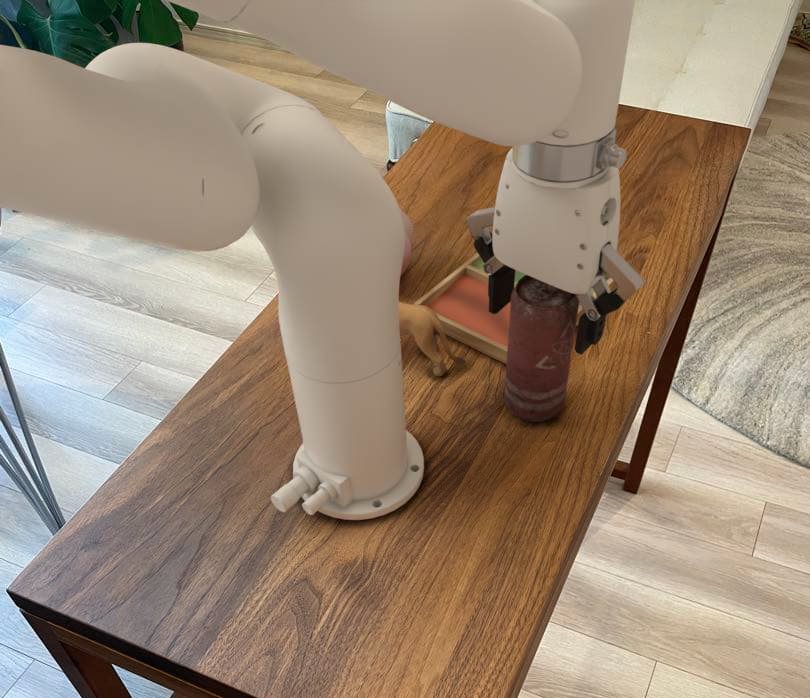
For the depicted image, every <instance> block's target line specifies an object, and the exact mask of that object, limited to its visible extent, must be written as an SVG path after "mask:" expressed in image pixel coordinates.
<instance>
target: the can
mask: <svg viewBox="0 0 810 698" xmlns="http://www.w3.org/2000/svg"><path fill="white" fill-rule="evenodd" d="M578 307H579V300H578V298H577V296H576V294H573V293H570V292H567V291H564V290H562V289H559V288H557V287H554V286H552V285H549V284H547V283H545V282H542V281H540V280H538V279H535V278H533V277H531V276H528V275H525V276H523V277H522V278H521V279H520V280H519V281H518V283H517V284H516V286H515V288H514V290H513V291H512V293H511V305H510V319H509V333H508V348H507V362H506V364H505V378H504V392H503V403H504V404H505V407H506V409H507V410H508V411H509V412H510V413H511V414H512V415H513V416H514V417H516V418H518V419H520V420H521V421H525V422H529V423H531V422H532V423H540V422H545V421H548V420H549V419H552V418H554V417H555V416H556V415H557V414H558V413H560V412H561V411H562V410H563V407H564V405H565V401H566V393H567V387H568V380H569V373H570V367H571V361H572V360H571V359H572V355H573V353H572V352H573V347H574V341H575V335H576V327H577V326H576V321H577V314H578Z"/></svg>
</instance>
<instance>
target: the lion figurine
mask: <svg viewBox="0 0 810 698" xmlns="http://www.w3.org/2000/svg"><path fill="white" fill-rule="evenodd" d="M399 328H400V336H409V335H413V337H414V340H415V343H416V345H417V346H418V347H419V349H420V350H421V352H422V353H423V354H424V355H425V356H426V357H428V359H430V360H431V361H432V362H433V363H434V364H435V365H436V366H434V367H432V374H433V375H434V376H435V377H438V378H439V377H442V376H444V374H445V372H446V369H447V367H446V363H445V359H444V357H443V355H441V354H440V353H439V351H438V350H437V349H438V347H439V344H438V343H437V337H438V335H439V338H440V341H441V343H442V345H443V348H444V350H445V353H446V355H447V356H448V357H449V359H450V360H452V361H453V363H455V364H457V365H458V366H461V365H466V363H467V360H466V359H465V358H462V357H458V356H456V355H454V354H453V352H452V350H451V348H450V344H449V341H448V338H447V335H445V332H444V330H443V328H442V325H441V323H440V322H439V318H438V316H437V314H436V313H435V312H434V311H432V310H431V309H430V308H428V307H427V306H423V305H413V304H412V303H407V302H402V301H400V300H399Z"/></svg>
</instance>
